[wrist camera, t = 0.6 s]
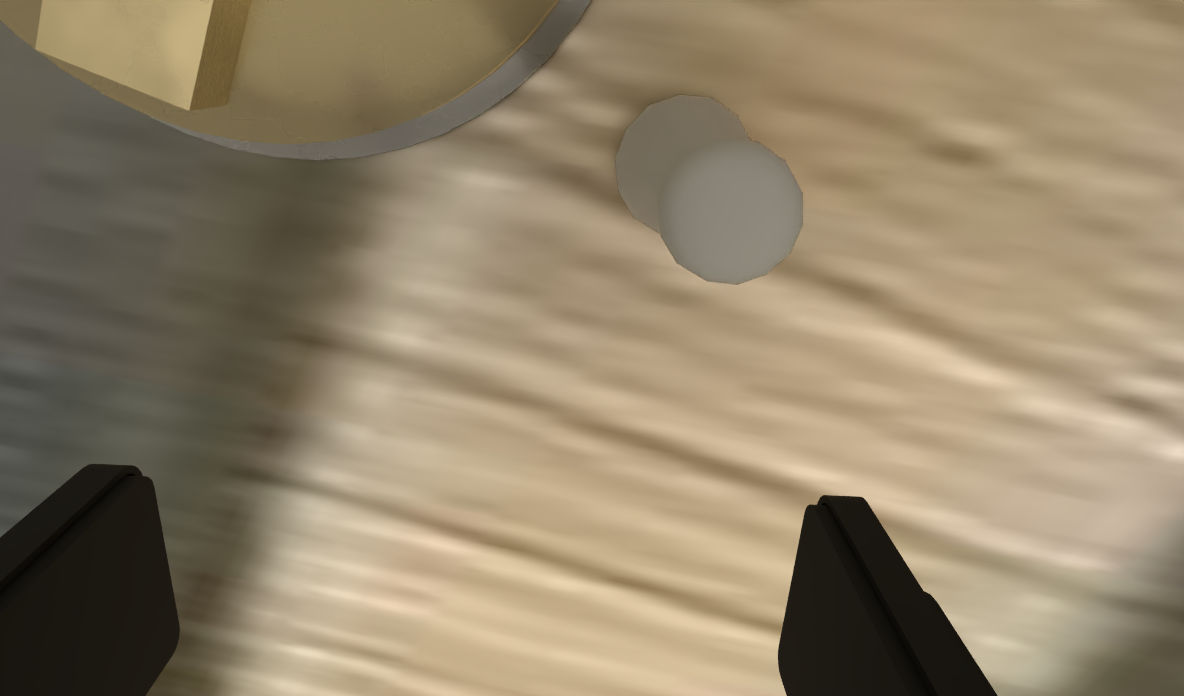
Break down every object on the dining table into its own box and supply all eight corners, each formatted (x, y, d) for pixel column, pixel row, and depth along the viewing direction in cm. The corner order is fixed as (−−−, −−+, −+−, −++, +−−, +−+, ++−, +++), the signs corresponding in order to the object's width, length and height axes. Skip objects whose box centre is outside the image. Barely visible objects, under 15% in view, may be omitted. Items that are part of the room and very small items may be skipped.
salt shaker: (587, 180, 34) (597, 251, 22) (658, 65, 32) (711, 72, 20) (693, 247, 35) (758, 349, 23) (767, 139, 33) (879, 189, 21)
